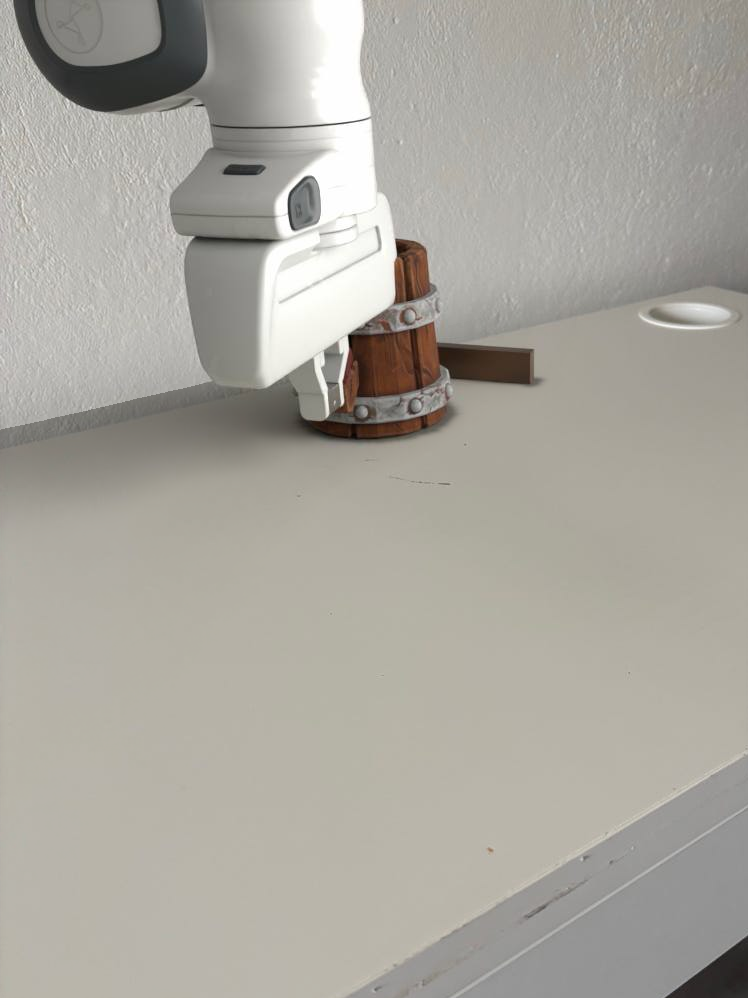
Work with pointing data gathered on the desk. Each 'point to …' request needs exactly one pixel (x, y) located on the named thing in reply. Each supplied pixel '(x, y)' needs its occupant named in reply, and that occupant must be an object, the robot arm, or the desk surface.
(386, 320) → the mug
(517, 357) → the rail
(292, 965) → the desk surface
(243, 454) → the desk surface
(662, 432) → the desk surface
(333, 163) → the robot arm
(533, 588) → the desk surface
